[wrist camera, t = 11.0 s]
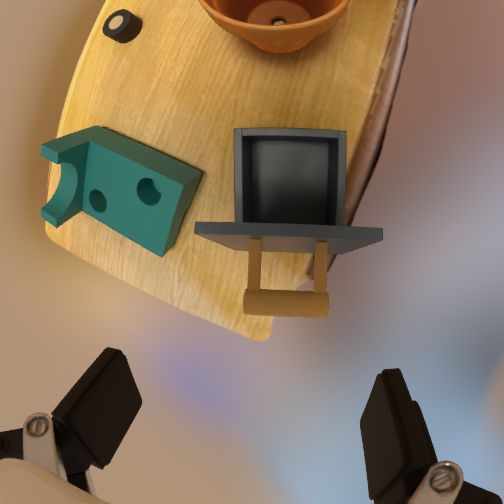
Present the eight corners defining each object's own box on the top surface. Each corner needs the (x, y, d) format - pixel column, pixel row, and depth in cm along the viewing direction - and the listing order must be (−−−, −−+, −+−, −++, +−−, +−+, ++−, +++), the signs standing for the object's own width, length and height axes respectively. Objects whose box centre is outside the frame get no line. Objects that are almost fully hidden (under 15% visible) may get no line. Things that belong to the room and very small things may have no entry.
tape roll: (117, 22, 27) (104, 15, 24) (143, 14, 27) (132, 5, 23) (113, 46, 29) (100, 40, 25) (140, 38, 28) (128, 30, 25)
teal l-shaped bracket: (87, 188, 38) (41, 216, 30) (97, 125, 32) (41, 144, 23) (179, 238, 39) (140, 282, 30) (202, 172, 33) (157, 205, 24)
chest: (246, 135, 32) (233, 128, 24) (334, 137, 30) (346, 130, 23) (247, 227, 36) (235, 245, 28) (330, 229, 34) (341, 249, 27)
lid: (194, 221, 16) (189, 315, 15) (383, 227, 14) (379, 323, 14) (234, 243, 28) (232, 296, 28) (341, 247, 27) (339, 301, 26)
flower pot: (297, 93, 29) (300, 57, 17) (203, 44, 28) (163, 0, 16) (354, 21, 24) (378, -30, 12) (263, -23, 23) (250, -78, 11)
